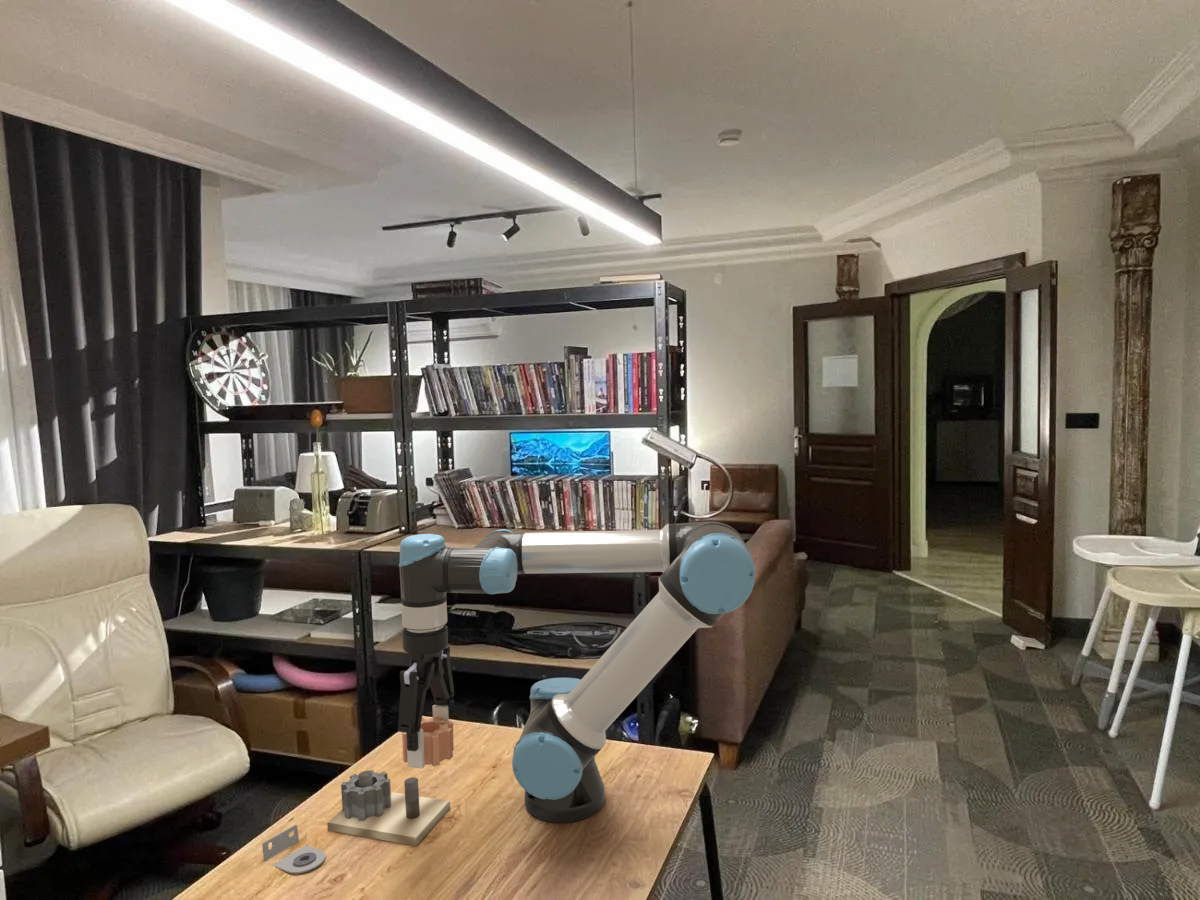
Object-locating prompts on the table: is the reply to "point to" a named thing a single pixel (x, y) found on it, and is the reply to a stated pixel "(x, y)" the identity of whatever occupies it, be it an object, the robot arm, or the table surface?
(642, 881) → the table surface
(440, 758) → the gear
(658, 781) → the table surface
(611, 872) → the table surface
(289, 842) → the bracket
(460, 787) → the table surface
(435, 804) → the gear board
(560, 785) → the robot arm
